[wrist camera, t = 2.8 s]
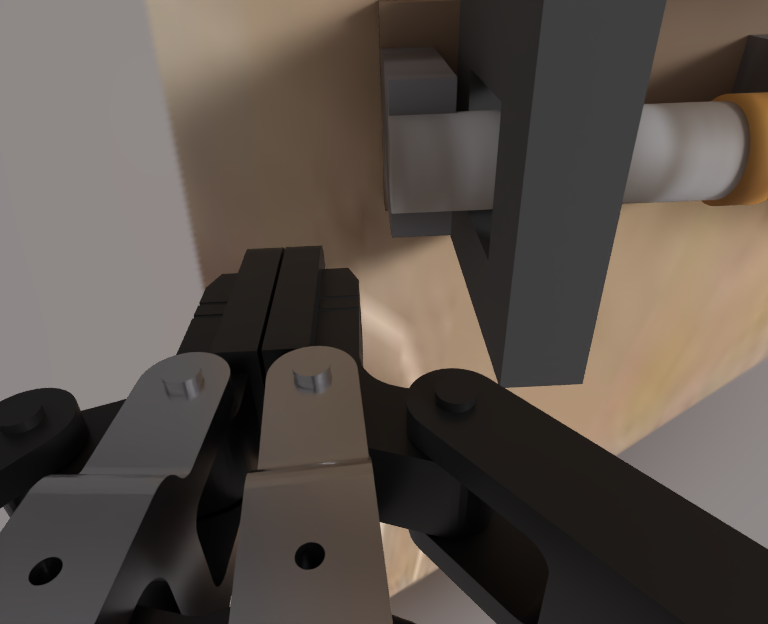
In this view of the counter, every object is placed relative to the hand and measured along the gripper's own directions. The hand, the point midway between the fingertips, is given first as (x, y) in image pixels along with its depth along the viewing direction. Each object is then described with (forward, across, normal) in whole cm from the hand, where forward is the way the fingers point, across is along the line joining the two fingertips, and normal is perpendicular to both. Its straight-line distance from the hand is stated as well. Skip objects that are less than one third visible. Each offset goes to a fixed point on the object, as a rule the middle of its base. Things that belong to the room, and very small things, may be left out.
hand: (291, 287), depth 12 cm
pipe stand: (+14, -10, 0) cm, 18 cm away
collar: (+12, -6, 0) cm, 14 cm away
